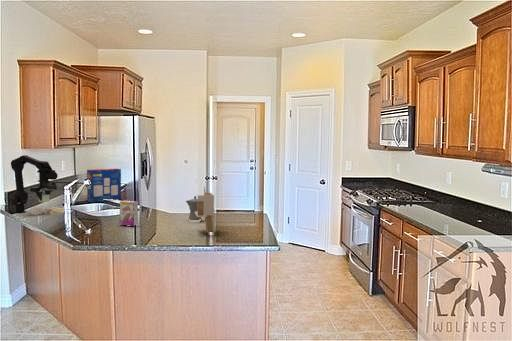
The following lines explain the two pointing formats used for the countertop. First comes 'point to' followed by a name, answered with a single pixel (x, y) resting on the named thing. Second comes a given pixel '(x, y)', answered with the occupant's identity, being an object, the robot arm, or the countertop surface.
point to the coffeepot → (193, 208)
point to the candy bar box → (128, 213)
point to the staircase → (206, 210)
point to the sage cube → (44, 198)
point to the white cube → (36, 210)
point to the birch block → (54, 210)
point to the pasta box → (104, 184)
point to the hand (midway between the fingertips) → (44, 200)
